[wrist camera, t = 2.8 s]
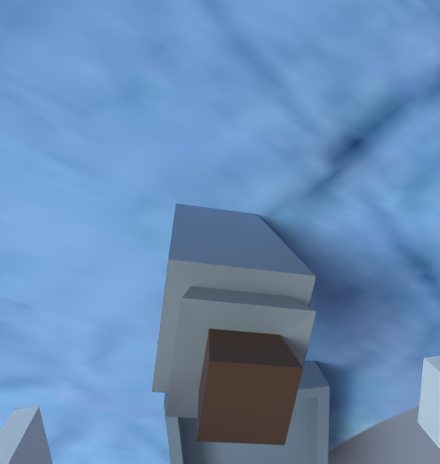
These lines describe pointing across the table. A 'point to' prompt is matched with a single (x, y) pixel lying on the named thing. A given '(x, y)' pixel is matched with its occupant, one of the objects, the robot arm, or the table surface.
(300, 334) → the perfume bottle
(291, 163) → the table surface
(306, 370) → the tray
